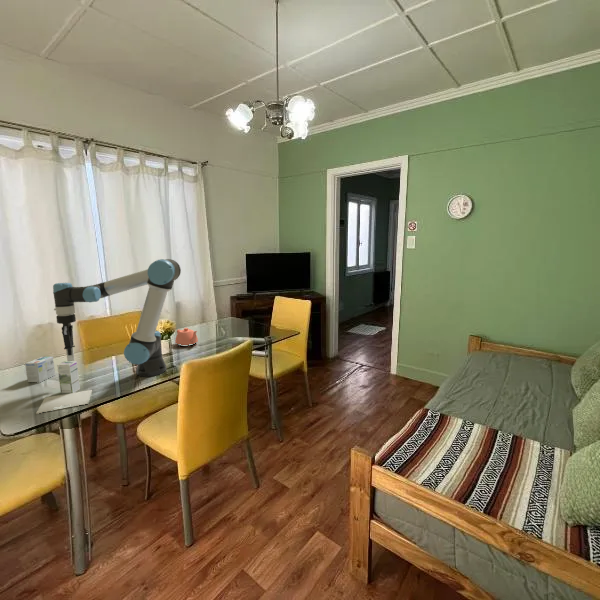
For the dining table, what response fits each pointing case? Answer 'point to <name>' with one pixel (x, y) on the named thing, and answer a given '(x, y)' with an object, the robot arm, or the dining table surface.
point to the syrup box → (68, 377)
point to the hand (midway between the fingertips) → (71, 360)
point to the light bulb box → (40, 369)
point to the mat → (65, 400)
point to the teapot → (186, 337)
